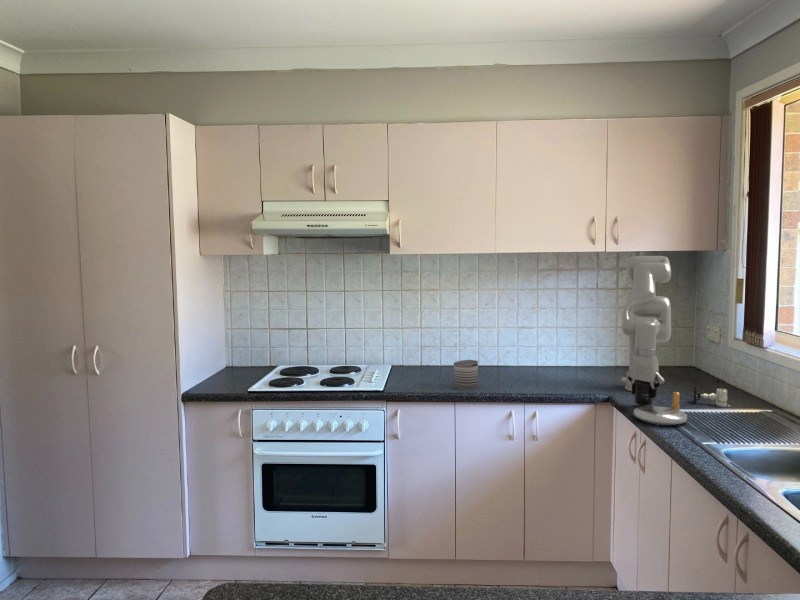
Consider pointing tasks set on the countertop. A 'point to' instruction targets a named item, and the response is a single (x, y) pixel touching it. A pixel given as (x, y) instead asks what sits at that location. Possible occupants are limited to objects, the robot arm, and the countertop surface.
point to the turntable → (662, 413)
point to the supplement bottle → (643, 393)
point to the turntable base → (657, 423)
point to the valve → (713, 396)
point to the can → (466, 374)
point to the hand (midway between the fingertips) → (643, 395)
